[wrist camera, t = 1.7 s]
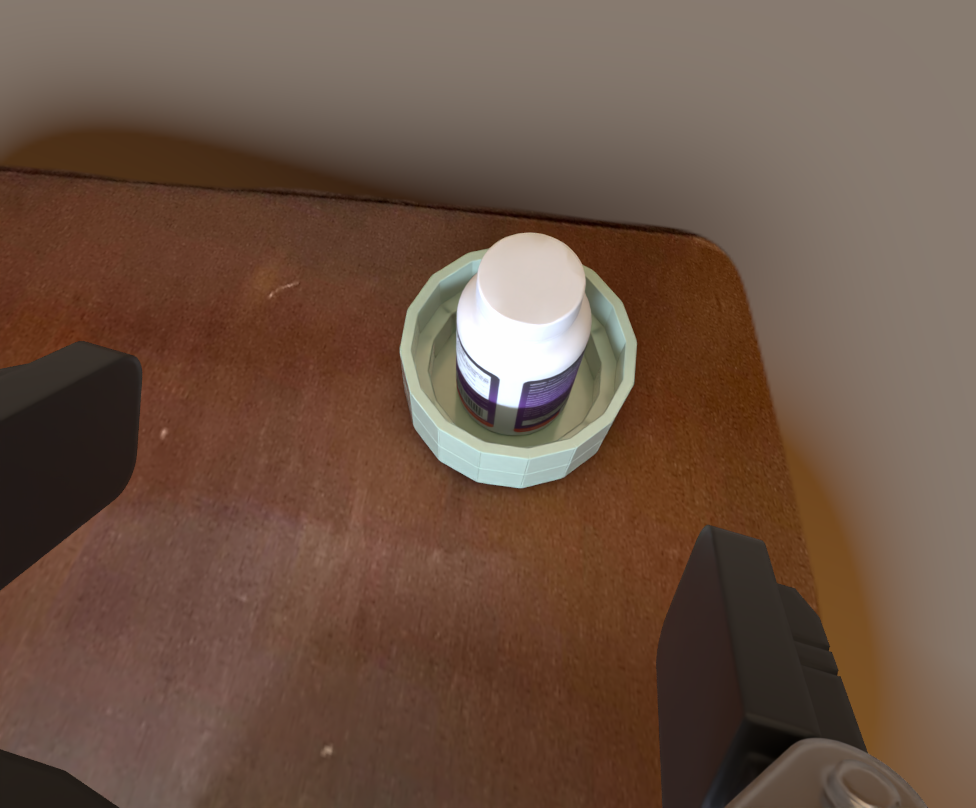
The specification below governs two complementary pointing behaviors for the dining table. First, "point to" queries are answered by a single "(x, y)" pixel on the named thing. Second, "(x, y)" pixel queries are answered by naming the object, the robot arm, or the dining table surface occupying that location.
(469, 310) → the pill bottle
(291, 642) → the dining table surface
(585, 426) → the bowl
